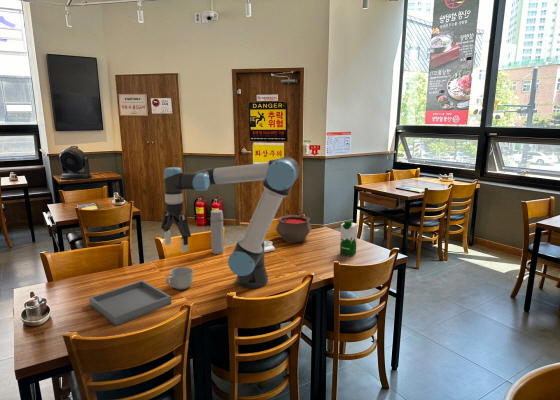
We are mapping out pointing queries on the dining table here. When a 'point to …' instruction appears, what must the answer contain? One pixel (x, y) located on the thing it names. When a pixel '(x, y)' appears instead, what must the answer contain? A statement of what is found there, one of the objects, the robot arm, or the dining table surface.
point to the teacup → (180, 278)
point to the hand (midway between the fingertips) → (176, 248)
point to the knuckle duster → (268, 246)
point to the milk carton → (348, 238)
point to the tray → (129, 302)
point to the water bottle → (217, 232)
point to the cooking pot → (293, 227)
